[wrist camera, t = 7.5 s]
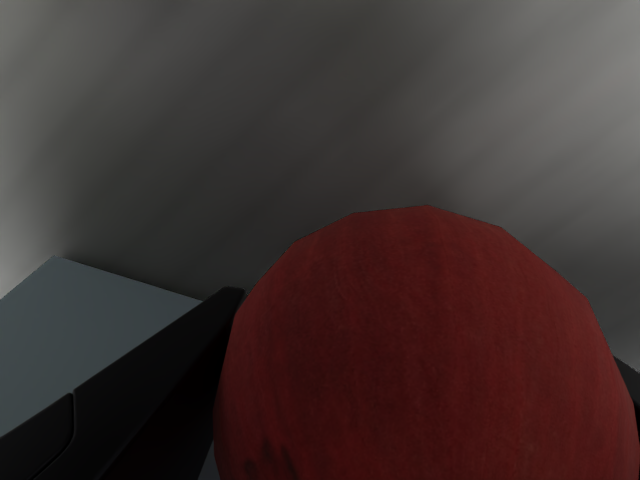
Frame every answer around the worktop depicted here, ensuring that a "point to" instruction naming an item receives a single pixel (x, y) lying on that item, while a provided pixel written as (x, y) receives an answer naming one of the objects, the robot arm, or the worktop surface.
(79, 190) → the worktop surface
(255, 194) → the worktop surface
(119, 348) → the door
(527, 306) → the onion
